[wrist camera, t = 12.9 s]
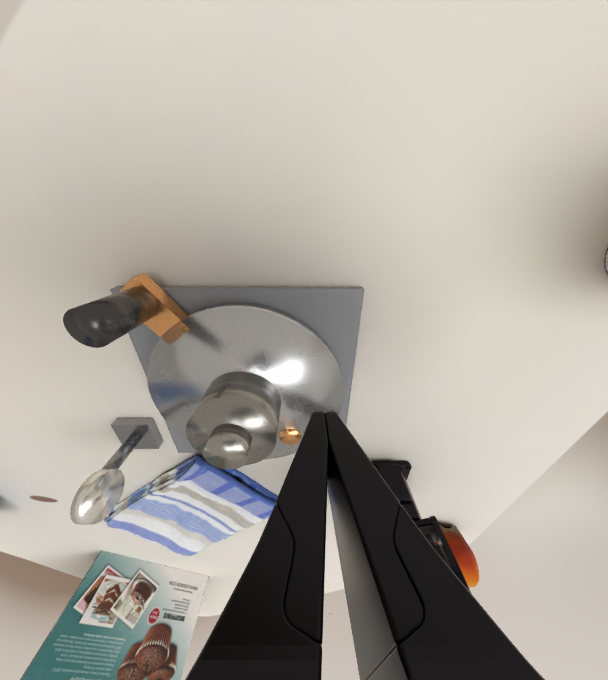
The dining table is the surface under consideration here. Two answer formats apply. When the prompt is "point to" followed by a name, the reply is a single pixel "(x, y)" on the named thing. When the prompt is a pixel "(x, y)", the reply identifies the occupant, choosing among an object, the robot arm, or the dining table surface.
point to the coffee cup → (606, 261)
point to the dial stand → (113, 471)
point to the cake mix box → (123, 624)
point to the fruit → (462, 555)
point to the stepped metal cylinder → (235, 420)
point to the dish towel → (193, 507)
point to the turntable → (218, 353)
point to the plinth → (301, 302)
